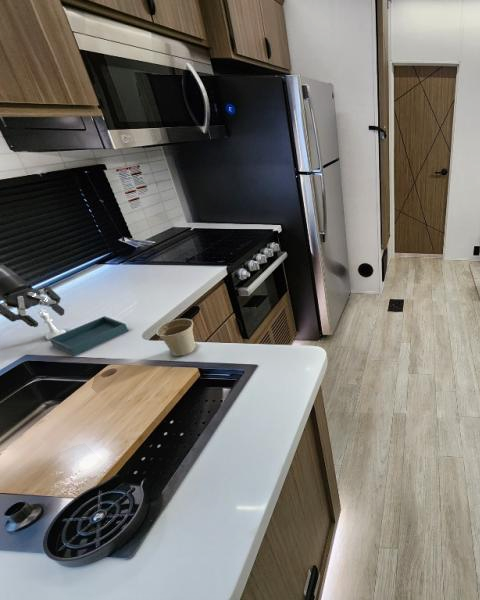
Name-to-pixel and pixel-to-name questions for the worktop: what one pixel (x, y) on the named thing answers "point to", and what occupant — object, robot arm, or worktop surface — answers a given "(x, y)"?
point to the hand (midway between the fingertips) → (50, 319)
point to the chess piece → (50, 325)
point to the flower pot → (178, 336)
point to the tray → (88, 335)
